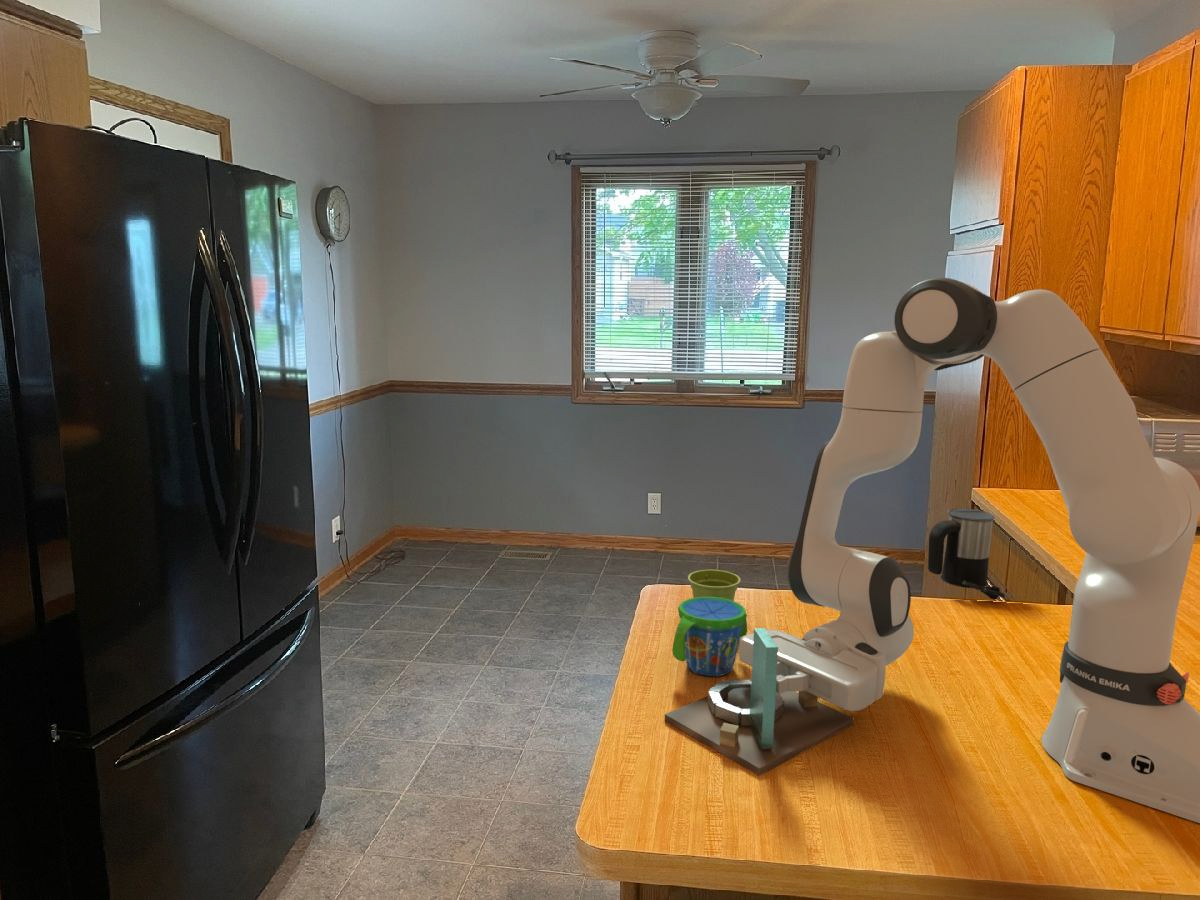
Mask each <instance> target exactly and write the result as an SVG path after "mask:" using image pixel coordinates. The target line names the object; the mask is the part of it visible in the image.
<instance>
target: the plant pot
mask: <svg viewBox="0 0 1200 900" xmlns="http://www.w3.org/2000/svg"><path fill="white" fill-rule="evenodd" d="M687 580H688V582H689V583H690V589H691V590H692V598H695V597H718V598H724V599H728V600H732V601H735V595H736V591H737V589H738V585H739V584H740V583H741V577H740V576H739V575H738V574H735V573H733V572H731V571H726V570H719V569H701V570H696V571H692V572H691V573H689V574H688V575H687Z"/></svg>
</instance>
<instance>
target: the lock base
mask: <svg viewBox="0 0 1200 900" xmlns="http://www.w3.org/2000/svg"><path fill="white" fill-rule="evenodd" d="M745 680H750V681H751V680H752V676H750V677H749V678H747V679H745ZM780 695H781V697H782V698H783V700H784V712H783V715H782V716H780V717H779V718H778V719H776V720H775V721H774V733H773V749H761V748H760V746H759V744H758V742H757V740H756V738H755V736H754V734H753V732H752V730H751V728H750V726H749V725H748V726H742V725H741V723H740V724H739V725H736V724H734V723H731V722H729V721H726V720H724V719H721V718H719V717H716V716H715V715H713V713H712V710H711V708H710V706H709V703H708V695H706V696H703V697H702V698H700V699H698V700H695V701H692V702H691V703H688V704H685V705H683V706H681V707H678V708H676V709H674V710H671V711H669V712H666V713H664V722H666V723H668V724H670V725H671V726H673V727H675V728H676V729H678V730H680V731H682V732H683V733H685V734H687V735H688V736H690V737H692V738H694V739H695V740H696V741H699V742H701V743H702V744H704V745H706V746H708V747H709V748H711V749H713V750H714V751H716V752H718V753H720V754H721V755H723V756H725V757H727V758H729V759H730V760H732V761H733V762H735V763H737V764H739V765H740V766H742V767H743V768H745V769H747V770H749V771H750V772H752V773H754V774H756V775H757V776H762V775H763V774H766V772H769V771H770V770H772V769H775V768H776V767H778V766H780V765H782V764H783V763H785V762H787V761H788V760H791V759H792V758H794V757H795V756H798V755H800V754H802V753H804V752H805V751H807V750H809V749H811V748H813V747H815V746H816V745H819V744H820V743H822V742H824V741H825V740H827V739H830V738H831V737H833V736H835V735H836V734H839V733H840V732H842V731H845V730H846V729H848V728H850V727H851V726H853V725H854V717H852V716H850V715H848V714H846V713H843V712H842V711H839V710H837V709H835V708H832V707H830V706H828V705H826V704H824V703H822V702H819V697H817V696H815V695H813V694H810V693H808V692H806V691H786V692H784V693H781V694H780ZM750 700H751V689H750V688H736V689H733V690H731V691H730V692H729V693H728V696H727V697H726V698H724V699H723V702H725V703H727V704H730V705H733V706H735V707H738V708H741V709H750Z"/></svg>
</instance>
